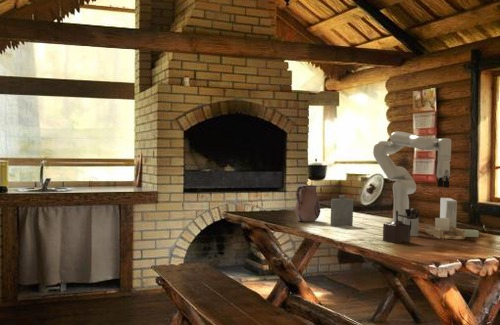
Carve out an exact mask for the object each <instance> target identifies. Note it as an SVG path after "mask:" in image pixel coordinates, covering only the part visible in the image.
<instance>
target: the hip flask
mask: <svg viewBox="0 0 500 325" xmlns="http://www.w3.org/2000/svg"><path fill="white" fill-rule="evenodd" d="M338 197H339V198H331V200H330V224H329V226H330V227H353V224H354V223H353V222H354V218H353V217H354V199H353V198H345V197H346V195H340V194H339V196H338Z"/></svg>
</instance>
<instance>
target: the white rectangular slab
mask: <svg viewBox="0 0 500 325" xmlns="http://www.w3.org/2000/svg"><path fill="white" fill-rule="evenodd" d="M434 219H435V222H434V223H435V224H434V227H436V228H439V229H442V230H446V231H449V218H440V217H435V218H434Z"/></svg>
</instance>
